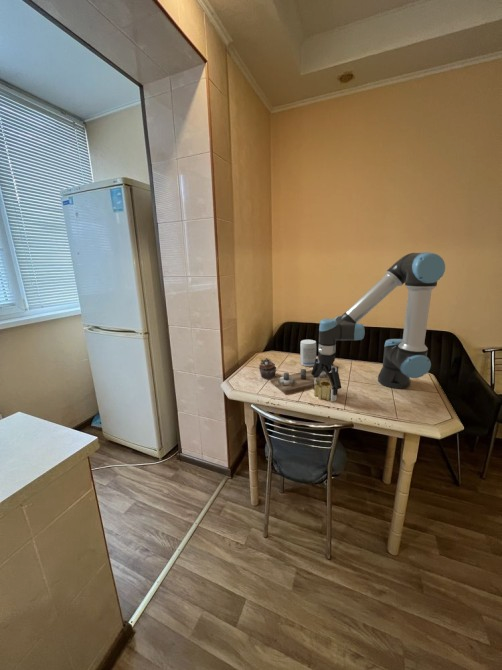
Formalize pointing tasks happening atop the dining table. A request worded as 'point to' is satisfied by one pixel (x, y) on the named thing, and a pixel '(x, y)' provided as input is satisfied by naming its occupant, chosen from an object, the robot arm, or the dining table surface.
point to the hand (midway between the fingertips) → (324, 394)
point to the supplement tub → (307, 352)
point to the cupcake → (267, 369)
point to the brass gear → (323, 389)
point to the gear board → (297, 381)
